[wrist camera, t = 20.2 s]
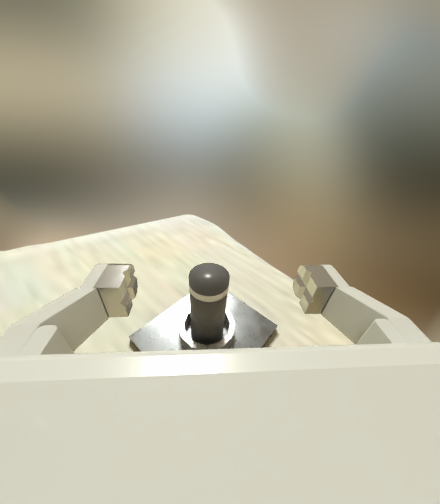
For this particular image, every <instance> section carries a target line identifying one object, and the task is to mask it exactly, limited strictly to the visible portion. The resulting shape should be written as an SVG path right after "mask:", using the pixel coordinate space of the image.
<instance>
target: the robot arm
mask: <svg viewBox="0 0 440 504" xmlns="http://www.w3.org/2000/svg"><path fill="white" fill-rule="evenodd" d="M134 272H135V270H134V266H133V265H132V264H101V263H98V264H96V265H95V266H94V268H93V269H92V271H91V272H90V274H89V275H88V276H87V278H86V279H85V281H84V282H83V284H82V285H81V287H80V288H75V289H74V290H72V291H70V292H68V293H67V294H65V295H63V296H61V297H60V298H58V299H56V300H54V301H53V302H51V303H49V304H47V305H46V306H44V307H42V308H40V309H39V310H37V311H35V312H33V313H32V314H30V315H28V316H26V317H25V318H23V319H21V320H19V321H18V322H16V323H14V324H12V325H11V326H10V327H9V328H8V330H7V331H6V332H5V333H4V334H3V335H2V336H1V337H0V504H440V342H431V341H430V340H429V339H428V338H427V337H426V336H425V335H424V334H423V333H422V332H421V331H420V330H419V329H418V327H417V326H416V325H415V324H414V323H413V322H412V321H411V320H410V319H409V318H408V317H406V316H404V315H402V314H400V313H399V312H397V311H395V310H393V309H391V308H390V307H388V306H386V305H384V304H382V303H381V302H379V301H377V300H375V299H373V298H372V297H370V296H368V295H366V294H364V293H363V292H361V291H359V290H357V289H355V288H354V287H349V286H348V284H347V283H346V282H345V281H344V280H343V278H342V277H341V276H340V275H339V274H338V272H337V271H336V270H335V269H334V267H333V266H331V265H300V267H299V268H298V270H297V272H298V274H299V275H298V276H297V277H295V279H294V282H293V290H294V293H295V295H296V296H297V297H298V298H299V299H301V300H300V302H299V303H300V305H301V307H302V309H303V311H304V313H305V314H321V315H322V316H323V317H325V318H326V319H327V320H328V321H329V322H330V323H332V324H333V325H334V326H335V327H336V328H337V329H338V330H340V331H341V332H342V333H343V334H344V335H345V336H346V337H348V338H349V339H350V340H351V341H352V342H353V343H354V344H355V345H329V346H298V347H268V348H236V349H204V350H173V351H141V352H110V353H79V354H74V352H73V351H74V350H75V349H76V348H77V347H79V346H80V345H81V344H82V343H83V342H84V341H85V340H86V339H87V338H88V337H89V336H90V335H91V334H92V333H93V332H95V331H96V330H97V329H98V328H99V327H100V326H101V325H102V324H103V323H104V322H105V321H106V320H107V319H108V317H128V316H129V313H130V310H131V308H132V301H131V300H132V299H134V298H135V296H136V293H137V287H138V285H137V278H136V277H135V276H133V274H134Z"/></svg>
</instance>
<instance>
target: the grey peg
mask: <svg viewBox="0 0 440 504" xmlns="http://www.w3.org/2000/svg"><path fill="white" fill-rule="evenodd" d="M228 287H229V273H228V271H227V270H226V269H225V268H224V267H222V266H220V265H218V264H214V263H203V264H200V265H197V266H195V267H194V268H193V269H192V270H191V271H190V273H189V292H190V318H191V335H192V338H193V339H194V341H195V342H196V343H200V344H204V345H210V344H213V343H217V342H219V341H220V339H221V338H222V336H223V329H224V320H225V312H226V303H227V295H228Z"/></svg>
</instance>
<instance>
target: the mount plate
mask: <svg viewBox="0 0 440 504" xmlns="http://www.w3.org/2000/svg"><path fill="white" fill-rule="evenodd" d="M276 328H277V325H276V324H274V323H273V322H271V321H270V320H268V319H267V318H266V317H264V316H263V315H261V314H260V313H258V312H257V311H255V310H254V309H252V308H251V307H249V306H248V305H246V304H245V303H243V302H242V301H240V300H239V299H237V298H236V297H234V296H233V295H231V294H230V293H228V295H227V303H226V312H225V320H224V329H223V336H222V338H221V339H220V341H219V342H217V343H213V344H210V345H204V344H200V343H196V342H195V341H194V339H193V338H192V335H191V318H190V294H189V295H187V296H186V297H184V298H183V299H182V300H180V301H179V302H177V303H176V304H175V305H173V306H172V307H170V308H169V309H167V310H166V311H165V312H163V313H162V314H160V315H159V316H157V317H156V318H155V319H153V320H152V321H150V322H149V323H148V324H146V325H145V326H143V327H142V328H140V329H139V330H138V331H136V332H135V333H133V334H132V335H131V336H129V338H130V340H131V342H132V343H133V344H134V345H135V347H136V348H137V349H138V350H139V351H140V352H141V351H173V350H204V349H236V348H262V347H263V346H264V345H265V343H266V342H267V341H268V339H269V338H270V337H271V335H272V334H273V333H274V331H275V330H276Z"/></svg>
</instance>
